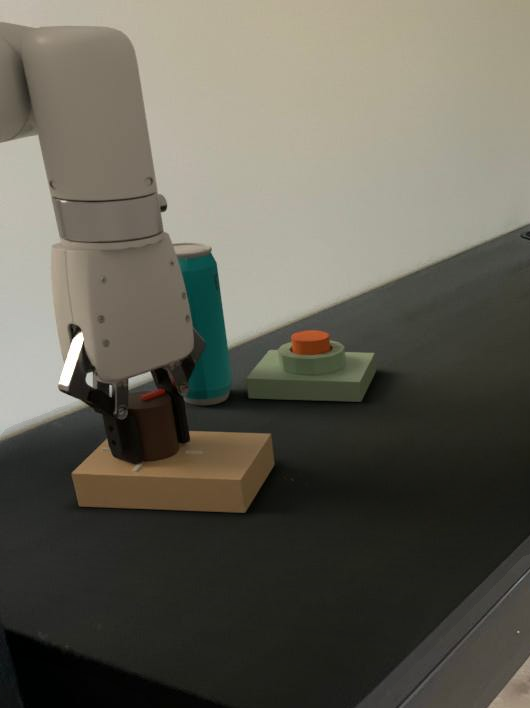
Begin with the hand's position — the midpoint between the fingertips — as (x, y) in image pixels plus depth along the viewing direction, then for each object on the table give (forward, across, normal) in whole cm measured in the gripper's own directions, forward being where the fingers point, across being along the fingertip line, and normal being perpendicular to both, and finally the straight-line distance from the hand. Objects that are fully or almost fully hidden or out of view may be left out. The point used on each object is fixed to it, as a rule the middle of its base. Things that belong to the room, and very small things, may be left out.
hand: (151, 447), depth 84 cm
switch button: (0, -28, -6) cm, 28 cm away
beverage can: (+4, -18, -12) cm, 22 cm away
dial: (0, 0, 0) cm, 0 cm away
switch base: (+3, -28, -6) cm, 28 cm away
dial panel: (+3, -1, +2) cm, 4 cm away
